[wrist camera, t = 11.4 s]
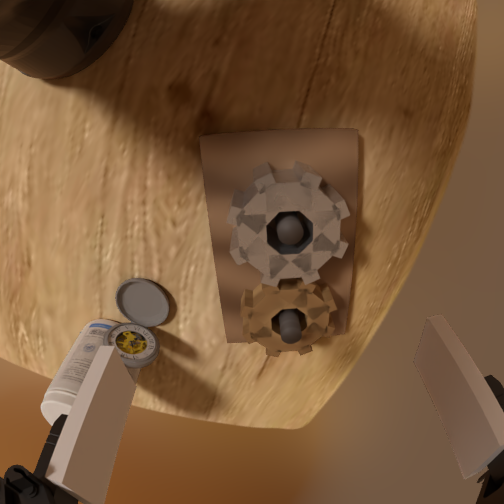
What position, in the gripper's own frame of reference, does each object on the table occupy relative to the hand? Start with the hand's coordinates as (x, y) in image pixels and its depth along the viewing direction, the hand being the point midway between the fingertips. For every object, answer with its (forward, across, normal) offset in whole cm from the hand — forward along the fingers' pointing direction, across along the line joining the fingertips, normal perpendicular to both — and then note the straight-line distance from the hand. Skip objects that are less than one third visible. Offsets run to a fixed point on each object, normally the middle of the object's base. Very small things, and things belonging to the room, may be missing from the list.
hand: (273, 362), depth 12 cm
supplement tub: (+20, -21, -17) cm, 34 cm away
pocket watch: (+20, -15, -11) cm, 27 cm away
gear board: (+20, +2, -4) cm, 20 cm away
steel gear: (+18, +2, 0) cm, 18 cm away
